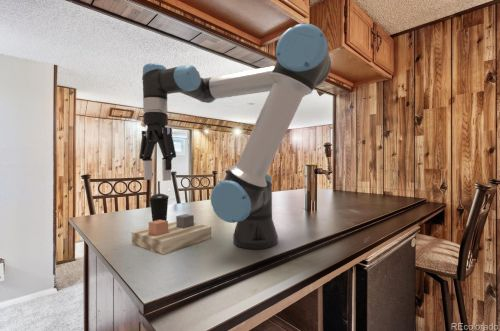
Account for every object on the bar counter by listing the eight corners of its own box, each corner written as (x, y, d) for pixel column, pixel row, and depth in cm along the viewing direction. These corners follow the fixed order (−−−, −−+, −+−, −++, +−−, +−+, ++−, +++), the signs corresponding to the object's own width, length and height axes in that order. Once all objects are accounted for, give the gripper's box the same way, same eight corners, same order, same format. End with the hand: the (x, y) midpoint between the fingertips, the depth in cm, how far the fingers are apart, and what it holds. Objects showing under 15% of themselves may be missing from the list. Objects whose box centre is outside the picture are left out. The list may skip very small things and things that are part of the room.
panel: (211, 237, 90) (211, 226, 90) (162, 254, 74) (162, 241, 74) (180, 230, 101) (179, 220, 101) (131, 243, 85) (131, 232, 85)
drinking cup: (163, 232, 98) (162, 181, 98) (145, 231, 99) (144, 182, 99) (173, 227, 105) (172, 180, 105) (156, 227, 107) (155, 180, 107)
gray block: (193, 228, 92) (193, 215, 92) (184, 231, 89) (183, 217, 89) (186, 227, 95) (185, 214, 95) (176, 229, 91) (176, 216, 91)
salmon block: (168, 236, 83) (167, 221, 83) (156, 239, 80) (156, 223, 80) (160, 234, 86) (160, 219, 86) (148, 237, 82) (148, 222, 82)
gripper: (186, 110, 79) (188, 180, 79) (147, 118, 92) (148, 178, 93) (166, 105, 73) (168, 181, 73) (127, 116, 86) (129, 179, 87)
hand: (157, 180), depth 83 cm, fingers open, 10 cm apart
